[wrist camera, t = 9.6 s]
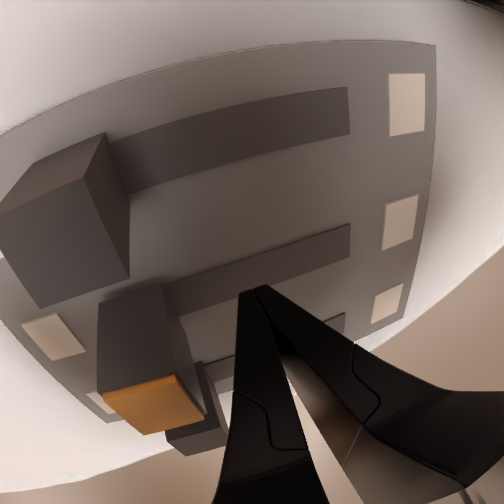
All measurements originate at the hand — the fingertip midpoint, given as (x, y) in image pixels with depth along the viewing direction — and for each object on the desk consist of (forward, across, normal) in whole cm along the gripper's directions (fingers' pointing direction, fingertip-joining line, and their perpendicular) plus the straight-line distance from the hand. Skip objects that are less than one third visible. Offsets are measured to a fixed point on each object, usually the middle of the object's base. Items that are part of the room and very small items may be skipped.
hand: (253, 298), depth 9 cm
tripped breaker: (+1, +3, 0) cm, 3 cm away
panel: (+2, 0, 0) cm, 2 cm away
